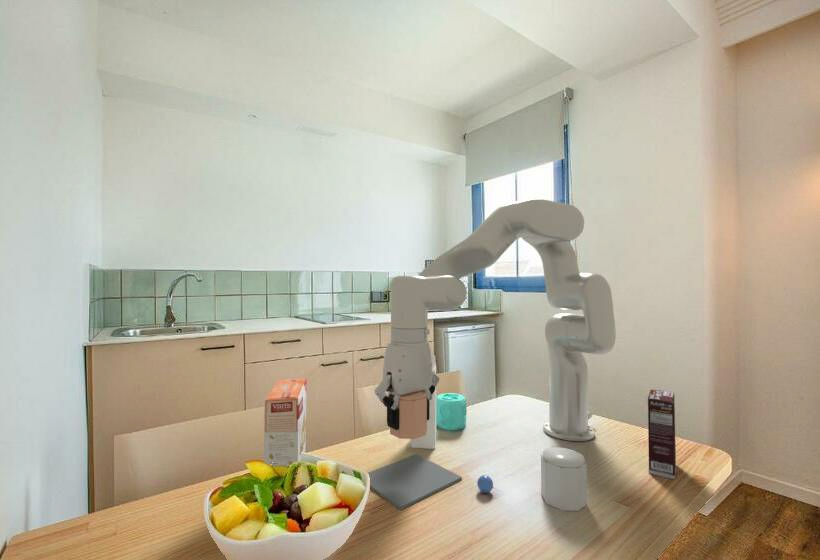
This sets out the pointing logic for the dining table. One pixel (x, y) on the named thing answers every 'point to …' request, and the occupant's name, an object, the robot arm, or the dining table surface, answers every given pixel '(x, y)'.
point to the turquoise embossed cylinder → (451, 411)
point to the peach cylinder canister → (412, 416)
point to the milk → (429, 421)
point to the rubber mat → (410, 480)
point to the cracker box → (285, 422)
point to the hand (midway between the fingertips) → (408, 422)
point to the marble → (485, 483)
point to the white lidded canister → (564, 479)
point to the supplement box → (661, 433)
